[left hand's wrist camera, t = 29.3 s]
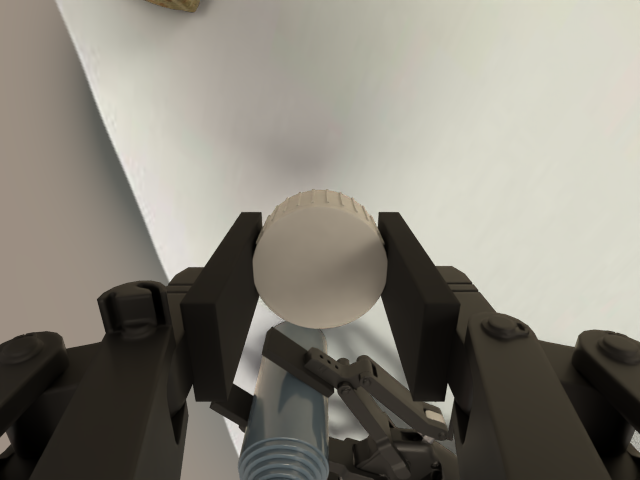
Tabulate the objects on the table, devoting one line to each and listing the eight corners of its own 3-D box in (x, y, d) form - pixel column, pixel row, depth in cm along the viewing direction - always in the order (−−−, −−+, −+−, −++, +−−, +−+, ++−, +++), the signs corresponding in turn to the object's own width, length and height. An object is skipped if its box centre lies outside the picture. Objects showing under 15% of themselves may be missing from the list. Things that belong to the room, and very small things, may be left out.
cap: (241, 210, 14) (227, 230, 11) (360, 171, 13) (368, 185, 11) (284, 311, 15) (279, 344, 13) (392, 280, 15) (404, 309, 13)
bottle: (339, 348, 37) (352, 547, 21) (294, 379, 38) (274, 587, 22) (298, 308, 35) (277, 493, 19) (252, 343, 36) (198, 540, 20)
